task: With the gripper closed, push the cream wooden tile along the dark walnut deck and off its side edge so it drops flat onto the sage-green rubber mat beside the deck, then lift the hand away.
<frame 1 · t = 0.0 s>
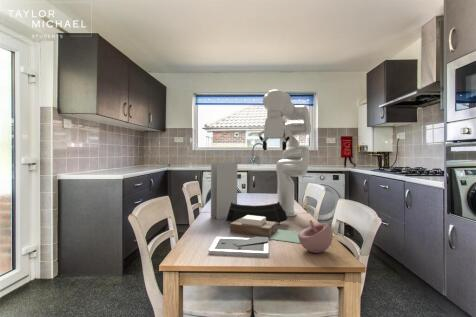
hand: (274, 150, 140), 37 cm above the table, tool pointing down, fingers open, 9 cm apart
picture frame: (240, 250, 105), on the table
tile: (253, 222, 126), point 4 cm above the table, touching deck
deck: (253, 231, 127), on the table
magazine: (256, 224, 141), on the table
mortar and pestle: (314, 252, 102), on the table
tall grey block: (224, 217, 155), on the table
mat: (290, 236, 120), on the table
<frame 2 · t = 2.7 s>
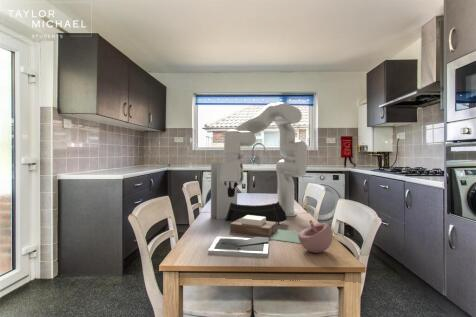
hand: (231, 196, 130), 15 cm above the table, tool pointing down, fingers closed
nothing on the table moved.
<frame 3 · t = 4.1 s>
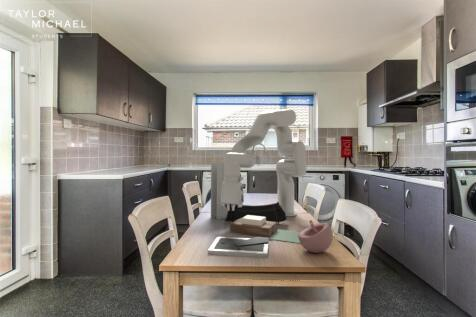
hand: (231, 218, 131), 5 cm above the table, tool pointing down, fingers closed
nothing on the table moved.
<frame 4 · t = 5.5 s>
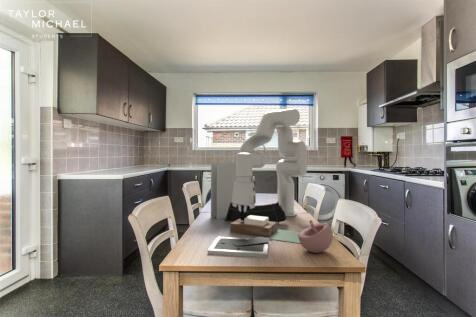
hand: (243, 220, 128), 5 cm above the table, tool pointing down, fingers closed
tile: (256, 223, 126), point 4 cm above the table
everything else where it was.
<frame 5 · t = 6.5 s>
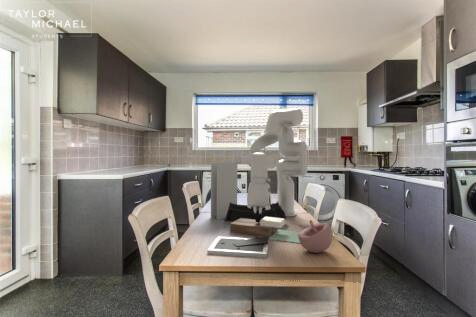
hand: (258, 221, 125), 5 cm above the table, tool pointing down, fingers closed
tile: (272, 224, 123), point 4 cm above the table
everything else where it was.
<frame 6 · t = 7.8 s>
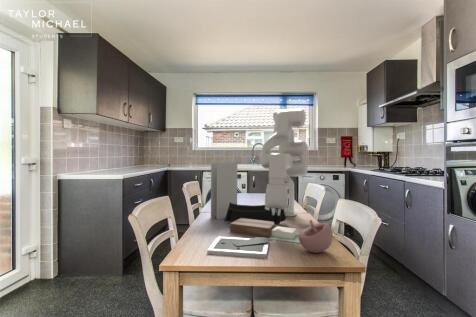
hand: (276, 223, 122), 5 cm above the table, tool pointing down, fingers closed
tile: (284, 234, 121), resting on mat
everything else where it was.
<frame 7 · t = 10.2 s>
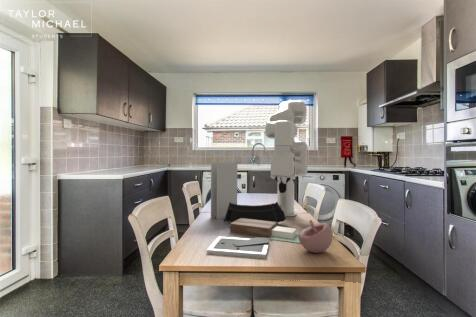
hand: (282, 192, 121), 19 cm above the table, tool pointing down, fingers closed
nothing on the table moved.
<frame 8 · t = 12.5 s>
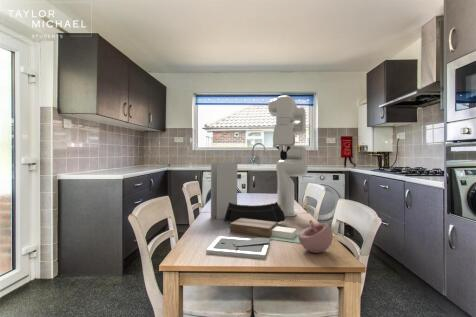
hand: (283, 159, 137), 32 cm above the table, tool pointing down, fingers closed
at the end: tile inside the target area on the mat (2.6 cm from its centre), point 0.3 cm above the mat's base; tile resting on mat; tile tilted 0° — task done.
